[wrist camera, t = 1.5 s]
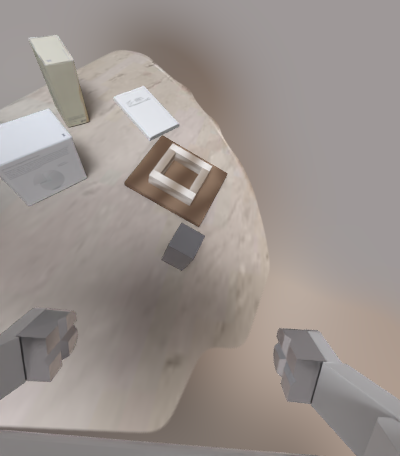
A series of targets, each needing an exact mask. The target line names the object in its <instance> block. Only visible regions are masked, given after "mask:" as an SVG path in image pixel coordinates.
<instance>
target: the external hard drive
mask: <svg viewBox="0 0 400 456" xmlns="http://www.w3.org/2000/svg"><path fill="white" fill-rule="evenodd" d="M114 101H115V102H116V104H117V105H118V106H119V107H120V108H121V109H122V110H123V112H124V113H125V114H126V115H127V116H128V117H129V118H130V119H131V121H132V122H133V123H134V124H135V125H136V126H137V127H138V128H139V130H140V131H141V132H142V133H143V134H144V135H145V136H146V137H147V138H148V140H149V141H151V140H153V139H155V138H157V137H159V136H161V135H163V134H165V133H167V132H169V131H171V130H173V129H175V128H177V127H179V123H178V122H177V121H176V120H175V119H174V118H173V117H172V115H171V114H170V113H169V112H168V111H167V110H166V109H165V108H164V107H163V106H162V105H161V104H160V103H159V101H158V100H157V99H156V98H155V97H154V96H153V95H152V94H151V93H150V92H149V91H148V90H147V89H146V88H145V86H142V87H139V88H136V89H133V90H131V91H128V92H125V93H122V94H120V95H117V96H115V97H114Z"/></svg>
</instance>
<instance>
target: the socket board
mask: <svg viewBox="0 0 400 456" xmlns="http://www.w3.org/2000/svg"><path fill="white" fill-rule="evenodd" d="M226 176H227V173H226V172H224V171H222V170H221V169H219V168H217V167H216V166H214V165H212V164H210V163H209V162H207V161H205V160H204V159H202V158H200V157H198V156H197V155H195V154H193V153H192V152H190V151H188V150H187V149H185V148H183V147H181V146H180V145H178V144H176V143H175V142H173V141H171V140H170V139H168V138H166V137H164V136H163V135H162V136H161V137H160V139H159V140H158V141H157V142H156V144H155V145H154V146H153V147H152V149H151V150H150V151H149V152H148V154H147V155H146V156H145V157H144V159H143V160H142V161H141V162H140V164H139V165H138V166H137V167H136V169H135V170H134V171H133V172H132V174H131V175H130V176H129V177H128V179H127V180H126V181H125V182H124V183H125V186H127V187H129V188H130V189H132V190H134V191H136V192H138V193H139V194H141V195H143V196H145V197H146V198H148V199H150V200H152V201H153V202H155V203H157V204H159V205H160V206H162V207H164V208H166V209H168V210H169V211H171V212H173V213H175V214H176V215H178V216H180V217H182V218H183V219H185V220H187V221H189V222H190V223H192V224H194V225H196V226H197V227H199V226H200V224H201V222H202V220H203V219H204V217H205V215H206V213H207V211H208V209H209V207H210V206H211V204H212V202H213V200H214V198H215V196H216V194H217V193H218V191H219V189H220V187H221V185H222V183H223V181H224V179H225V178H226Z"/></svg>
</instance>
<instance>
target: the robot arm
mask: <svg viewBox="0 0 400 456" xmlns="http://www.w3.org/2000/svg"><path fill="white" fill-rule="evenodd" d="M76 320H77V318H76V313H75V312H74V311H70V310H61V309H51V308H49V309H48V308H40V307H36V308H32V309H31V310H30V311H29V312H27V313H26V314H25V315H24V316H23V317H21V318H20V319H19V320H18V321H16V322H15V323H14V324H13V325H11V326H10V327H9V328H8V329H7V330H5V331H4V332H3V333H2V334H0V400H1V399H2V398H4V397H5V396H6V395H8V394H9V393H11V392H12V391H14V390H15V389H16V388H18V387H19V386H21V385H22V384H24V383H25V382H26V381H43V382H51V381H52V379H53V378H54V376H55V375H56V374H57V372H58V371H59V369H60V368H61V367H62V360H63V359H65V358H66V357H68V356H69V355H70V354H71V353H72V351H73V350H74V347H75V345H76V342H77V337H78V331H77V329H76V327H75V326H74V325H73V324H74V323H75V322H76ZM277 339H278V341H279V342H278V343H277V344H276V345H275V347H274V353H273V356H274V365H275V369H276V372H277V373H278V374H279V375H280V376H281V377H282V379H281V386H282V389H283V392H284V394H285V397H286V400H287V401H290V402H298V403H308V404H311V406H312V407H313V408H314V409H315V410H316V411H317V412H318V414H319V415H320V416H321V417H322V418H323V419H324V420H325V421H326V422H327V423H328V425H329V426H330V427H331V428H332V429H333V430H334V431H335V432H336V434H337V435H338V436H339V437H340V438H341V439H342V440H343V441H344V442H345V444H346V445H347V446H348V447H349V448H350V449H351V450H352V451H353V452H354V454H355V455H356V456H400V400H399V399H397V398H396V397H394V396H393V395H392V394H390V393H389V392H387V391H386V390H384V389H382V388H381V387H380V386H378V385H377V384H375V383H374V382H372V381H371V380H370V379H368V378H366V377H365V376H363V375H362V374H361V373H359V372H357V371H356V370H355V369H353V368H352V367H350V366H349V365H347V364H343V363H342V362H341V361H340V359H339V358H338V357H337V355H336V354H335V352H334V351H333V350H332V348H331V347H330V345H329V344H328V342H327V341H326V340H325V338H324V337H323V336H322V334H321V333H320V332H319V331H318V330H298V329H284V328H279V330H278V332H277ZM0 456H316V455H303V454H292V453H280V452H268V451H255V450H243V449H231V448H217V447H206V446H205V447H204V446H194V445H181V444H169V443H157V442H144V441H132V440H119V439H108V438H95V437H83V436H70V435H58V434H46V433H34V432H22V431H8V430H0Z"/></svg>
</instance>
